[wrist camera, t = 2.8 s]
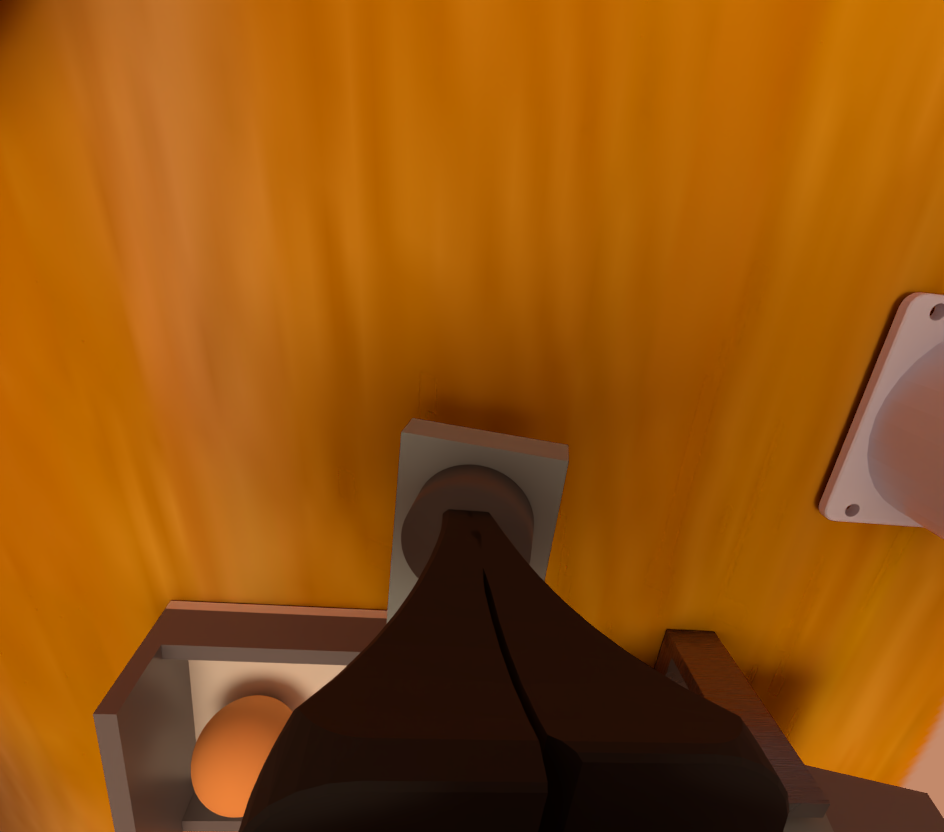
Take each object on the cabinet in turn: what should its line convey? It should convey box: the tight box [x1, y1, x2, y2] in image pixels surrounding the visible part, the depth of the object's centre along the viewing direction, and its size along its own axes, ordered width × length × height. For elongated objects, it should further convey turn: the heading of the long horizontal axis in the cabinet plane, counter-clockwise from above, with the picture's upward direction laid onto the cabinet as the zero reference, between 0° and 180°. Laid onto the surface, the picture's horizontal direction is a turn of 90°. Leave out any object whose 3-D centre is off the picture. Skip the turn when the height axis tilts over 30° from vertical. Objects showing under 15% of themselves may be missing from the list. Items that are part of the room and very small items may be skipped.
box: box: [93, 601, 387, 832], centre depth 19 cm, size 13×9×4 cm
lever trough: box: [387, 418, 944, 832], centre depth 15 cm, size 18×17×4 cm
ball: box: [191, 695, 292, 818], centre depth 18 cm, size 4×4×4 cm
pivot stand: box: [654, 630, 831, 818], centre depth 19 cm, size 2×9×6 cm, turn 173°
